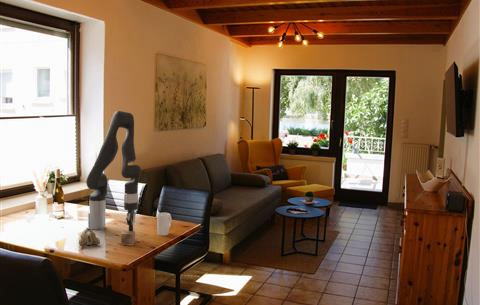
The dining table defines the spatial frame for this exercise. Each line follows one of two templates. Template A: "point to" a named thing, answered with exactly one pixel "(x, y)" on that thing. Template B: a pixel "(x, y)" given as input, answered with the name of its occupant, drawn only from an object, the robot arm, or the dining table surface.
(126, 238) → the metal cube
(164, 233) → the mug
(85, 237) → the ceramic sculpture
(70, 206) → the dining table surface
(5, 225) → the dining table surface
